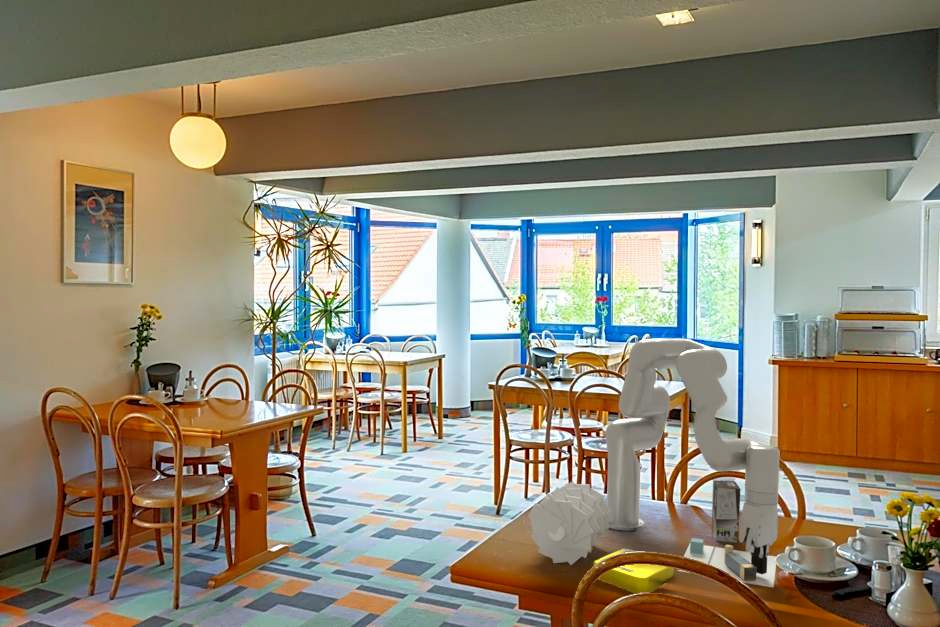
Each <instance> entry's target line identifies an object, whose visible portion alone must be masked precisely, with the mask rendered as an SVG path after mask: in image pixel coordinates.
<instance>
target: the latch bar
mask: <svg viewBox="0 0 940 627" xmlns="http://www.w3.org/2000/svg"><path fill="white" fill-rule="evenodd" d="M725 565H727V566H728V567H729V568H730V569H731V570H733V571H734V572H735V573H736V574H737V575H738V576H740V577H741V578H742V579H743V580H756V571H757V567H755V566H754V565H753V564H751V563H750V562H749V561H748V560H746V559H745V558H744V557H742V556H741V555H740V554H738V553H726V564H725Z"/></svg>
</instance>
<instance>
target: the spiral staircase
mask: <svg viewBox="0 0 940 627" xmlns="http://www.w3.org/2000/svg"><path fill="white" fill-rule="evenodd" d="M604 497H605V495H604V494H602V493H600V492H599V491H598V490H595V489H594V488H592V487H591V485H590V484H587V483H584V484H583V483H581V484H580V483H575V482H574V481H572V480H571V481H570V482H569V483H567V484H566V485H563V486H562V487H559V486H556V487H555V489H554V491H553V493H552V494H551V493H550V492H547V493H546V496H544V498H543V499H542V500H541V502H540V504H538V503H537V502H535V503H534V504H533V507H532V508H531V509H530V512H529V514H528V515H527V517H528V518H529V519H530V523H531V527H532V532H531V533H530V535H529V536H530V537H531V539H532V540H533V541H534V542H535V544H536V545H537V546H538V548H539V549H538V552H537V553H538V554H541V555H544V556H545V557H547V558H550V559H552V564H560V563H568V564H569V565H570V566H572V565H573V564H575V563H576V562H577V561H578V560H579V559H580V558H585V559H586V558H587V557H588V553H590V554H591V553H592V550H593V549H594V547H596V546H597V540H599V541H601V540H602V536H604V537H606V534H607V530H609V529H610V528H609V516H608V514H609V513H610V512H611V511H610V509H609V508H608V506H607V502H606V501H605V499H604Z"/></svg>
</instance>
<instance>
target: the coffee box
mask: <svg viewBox="0 0 940 627" xmlns="http://www.w3.org/2000/svg"><path fill="white" fill-rule="evenodd" d="M741 489H742V488H740V486H739V485H738V484H737V482H736V481H735V480H714V479H713V480H712V501H711V502H712V504H711V506H712V508H711V537H712V538H713V539H714V540H715V541H717V542H725V543H726V542H728V543H739V537H740V509H741V508H740V506H741V491H742V490H741Z"/></svg>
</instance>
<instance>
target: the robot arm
mask: <svg viewBox="0 0 940 627" xmlns="http://www.w3.org/2000/svg"><path fill="white" fill-rule="evenodd" d="M628 356H629V357H628V365H627V371H626V374H625V378H624V381H623V385H622V389H621V393H620V397H619V402H618V409H619V412H620V414H621V415H622V416H624V417H626V418H619V419H615V420H613V421H611V422H610V423H609V424H608V425H607V427H606V428H605V433H604V434H605V435H604V436H605V443H606V444H605V445H606V449H607V450H606V451H607V482H606V483H607V485H606V487H607V488H606V489H607V490H606V504H607V506H608V508H609V509H610V511H611V512H610V513H609V514H608V516H609V529H612V530H615V531H616V530H617V531H628V532H630V531H633V532H634V531H637V530H638V528H640V527H645V522H644V520H643V519H641V518H640V497H641V496H640V493H641V463H640V461H639V460H640V459H639V458H638V456H637V454H636V451H641V450H648V449H653V448H655V447H657V446H658V445H659V443H660V442H661V439H662V436H663V433H664V431H665V427H666V425H667V424H666V423H667V420H668V416H669V414H670V410H671V398H670V394H669V392H668V391H667V390H666V388H665V387H663V386H662V385H659V384H656V382H657V371H656V370H657V369H659V370H662V369H663V370H664V369H666V370H668V369H671V370H672V369H676V370H677V374H678V376H679V377H680V380H681V381H682V382H681V383H682V384H683V386H684V389H685V390H686V392H687V394H688V395H689V398H690V400H691V402H692V404H693V406H694V409H695V416H694V421H693V422H694V423H693V432H694V439H695V442H696V444H697V447H698V449H699V451H700V453H701V455H702V457H703V459H704V461H705V462H706V463H707V465H708V466H709V468H711V469H712V470H714V471H716V472H718V473H719V472H721V473H724V472H731V471H741V470H742V471H743V470H745V472H744V473H745V474H744V475H745V476H744V479H745V480H744V503H743V506H742V510H741V519H740V524H739V542H740V543H742V544H745V543H746V544H745V552H750V555H751V564H753V565H754V566H755V567H757V571H756V573H759V574H765V573H767V557H766V556H768V555H769V552H770V547H771V546H772V545H774V542H775V541H776V540H777V539H778V536H779V535H778V534H779V514H778V505H779V479H780V477H779V476H780V452H779V449H777V448H776V447H775V446H773V445H768V444H760V443H758V442H756V441H753V440H751V439H747V438H736V439H735V438H734V439H732V438H731V439H722V437H721V435H720V432H719V431H718V428H717V425H716V415H717V414H716V413H717V412H718V411H719V410H720V409H721V408H723V407H724V406H725V405H726V404H727V401H728V396H727V394H726V392H725V390H724V388H723V386H722V385H721V383H720V380H719V379H722V378H723V377H724V376H725V375H726V372H727V370H728V364H727V360H726V358H725V356H724V354H722V353H721V352H720V351H719V350H717V349H716V348H713V347H710V346H708V345H705V344H702V343H699V342H697V341H695V340H691V339H688V338H647V339H641V340H639V341H637V342H635V343H634V344H633V346H632V347H631V349H630V352H629V355H628Z"/></svg>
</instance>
